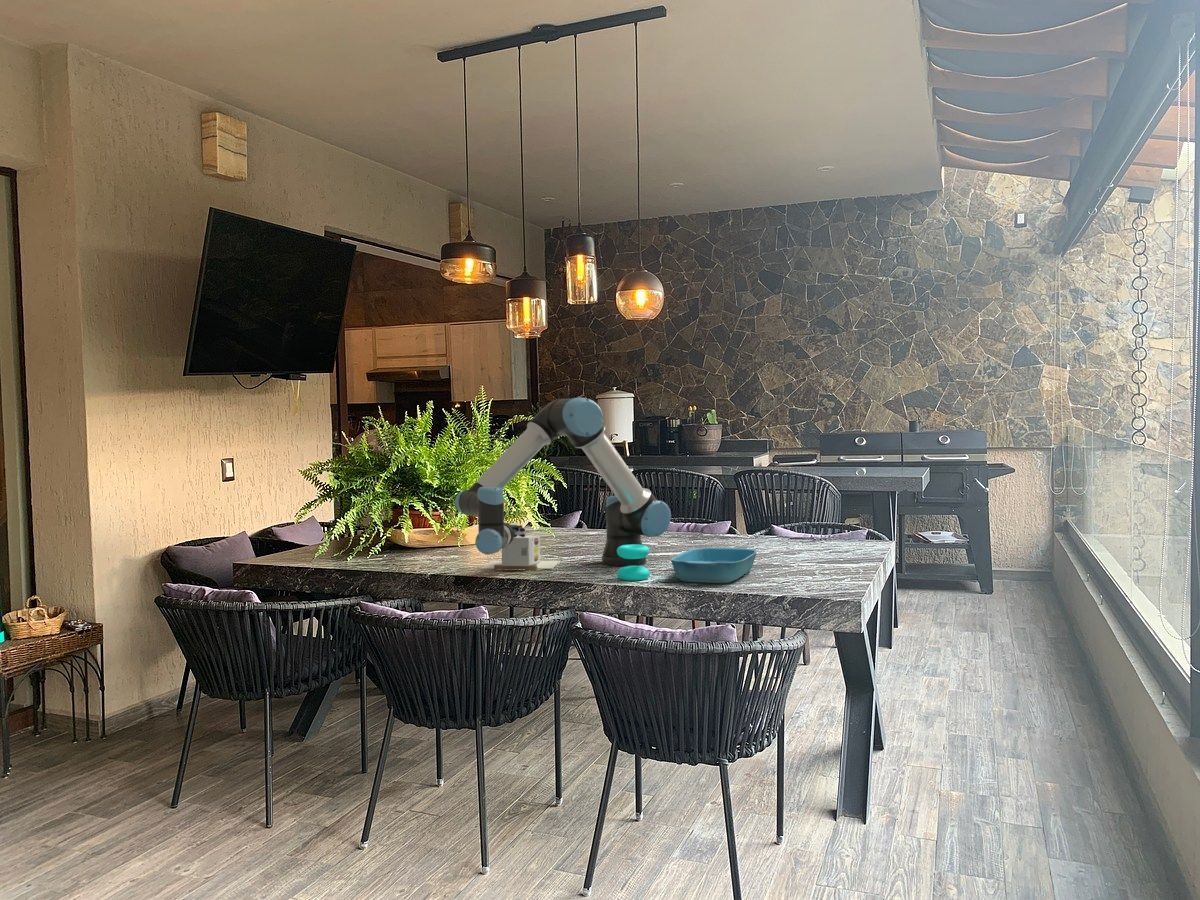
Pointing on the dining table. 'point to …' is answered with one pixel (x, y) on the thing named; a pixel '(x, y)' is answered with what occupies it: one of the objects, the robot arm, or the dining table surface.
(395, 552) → the dining table surface
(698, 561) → the casserole dish
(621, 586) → the dining table surface
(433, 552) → the dining table surface
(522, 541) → the supplement box
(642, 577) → the donuts
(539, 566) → the mat
